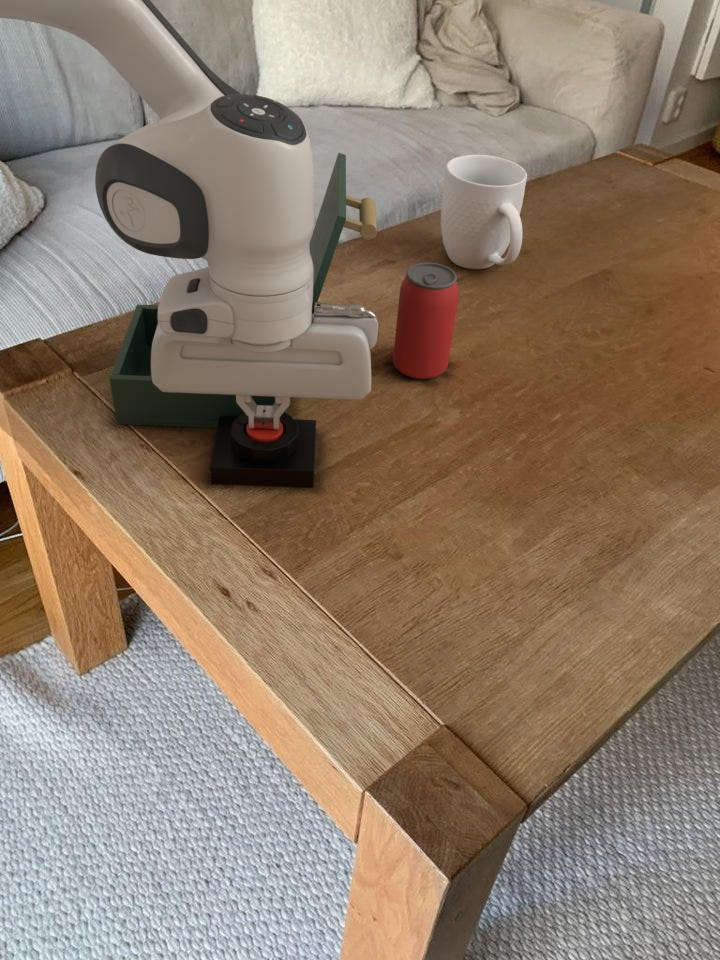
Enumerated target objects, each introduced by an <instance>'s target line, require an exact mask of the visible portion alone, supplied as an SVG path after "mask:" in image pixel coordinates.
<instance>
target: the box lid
mask: <svg viewBox="0 0 720 960" xmlns="http://www.w3.org/2000/svg"><path fill="white" fill-rule="evenodd" d="M326 187H327V188H326V190H325V193H324V197H323V199H322V203H321V206H320V209H319V212H318V216H317V219H316V220H315V225H314V230H313V233H312V235H311V238H310V244H309V248H310V254H311V258H312V262H313V268H314V271H313V272H314V274H313V302H319V298H320V296H321V293H322V290H323V287H324V284H325V281H326V279H327V275H328V273H329V269H330V267H331V264H332V261H333V259H334V255H335V253H336V252H335V251H336V250H337V246H338V245H339V244H338V243H339V241H340V238H341V235H342V232H343V229H344V228H345V229H349V230H352V231H355V232H358V233H359V234H360V236H361V238H362V239H364V240H367V241H370V240H373V239H375V238H376V236H377V235H378V227H377V226H378V225H377V208H376V202H375V200H374V199H373V198H371V197H363V198H361V199H358V198H355V197H352V196H348V195H347V155H346V154H344V153H341V152H338V153H337V156H336V159H335V162H334V165H333V169H332V171H331V175H330V178H329V181H328V185H327V186H326ZM347 206H348V207H351V208H354V209H357V210H359V211H358V214H359V216H358V217H359V221H358V220H355V219H352V218H349V217H347Z"/></svg>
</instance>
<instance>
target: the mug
mask: <svg viewBox="0 0 720 960" xmlns="http://www.w3.org/2000/svg"><path fill="white" fill-rule="evenodd" d="M527 179H528V173H527V171H526V170H525V169H524V168H523V167H522V166H521V165H520V164H518V163H516V162H514V161H511V160H509V159H506V158H502V157H499V156H495V155H488V154H466V155H460V156H457V157H454V158H452V159H450V160H449V161H448V162H447V163H446V166H445V173H444V180H443V186H442V195H441V201H440V202H441V204H440V207H441V208H440V228H441V238H442V243H443V246H444V249H445V252H446V254H447V257H448V258H449V260H450V261H451V262H452V263H453V264H454V265H456V266H458V267H461V268H464V269H468V270H485V269H488V268H490V267H492V266H494V265H498V266H507V265H510V264H512V263H513V262H515V261H516V260H517V258H518V256H519V255H520V252H521V249H522V244H523V224H522V219H521V216H520V214H521V211H522V207H523V203H524V202H523V201H524V197H525V191H526V186H527ZM507 249H508V251H507V253H506V255H505V257H504V258H503V255H504V254H505V252H506V250H507Z"/></svg>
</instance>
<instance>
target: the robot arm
mask: <svg viewBox="0 0 720 960" xmlns="http://www.w3.org/2000/svg"><path fill="white" fill-rule="evenodd" d="M0 19H7V20H8V19H10V20H17V21H23V22H31V23H34V24H40V25H44V26H49V27H52V28H55V29H59V30H62V31H64V32H67V33H69V34H71V35H74V36H75V37H77V38H79V39H82V40H83V41H84V42H85V43H87V44H89V45H90V46H91V47H93V48H94V49H95V50H97V51H98V52H99V53H100V54H101V55H102V57H104V58H105V60H107V61H108V63H109V64H110V65H111V66H112V67H113V68H114V69H115V70H116V72H117V73H118V74H119V75H120V76H121V77H122V78H123V79H124V80H125V81H126V82H127V83H128V84H129V86H130V87H131V88H132V89H133V90H134V92H136V93H137V94H138V96H140V98H141V99H142V100H143V101H144V102H145V103H146V104H147V105H148V107H149V108H150V109H151V110H152V111H153V112H154V113H155V114H156V116H157V117H158V118H159V119H157V120H156V121H154V122H150V123H147V124H146V125H144V126H142V127H139V128H138V129H135V130H134V131H132V132H130V133H128V134H126V135H124V136H122V137H121V138H120V139H118V140H116V141H115V142H114V143H112V144H111V145H110V146H108V147H107V148H105V149H104V151H102V153H101V154H100V156H99V158H98V160H97V164H96V168H95V177H94V184H95V185H94V186H95V193H96V198H97V203H98V205H99V208H100V211H101V213H102V215H103V216H104V217H103V218H104V219H105V221H106V222H107V224H108V226H109V227H110V229H112V231H113V232H114V233H115V234H116V235H117V237H118V238H119V239H121V240H122V241H123V242H124V243H125V244H126V245H128V246H130V247H132V248H133V249H136V250H137V251H140V252H142V253H144V254H148V255H152V256H157V257H164V258H171V259H178V260H179V259H180V260H197V259H203V260H205V261H206V263H207V267H204V268H199V269H196V270H191V271H187V272H183V273H178V274H175V275H173V276H171V277H170V278H169V279H168V281H167V282H166V284H165V286H164V288H163V289H162V292H161V294H160V298H159V301H158V305H159V306H158V325H157V328H156V332H155V335H154V339H153V342H152V349H151V376H152V382H153V384H154V385H155V386H156V387H157V388H159V389H160V390H161V391H162V392H174V393H199V394H224V395H236V402H237V404H238V405H239V406H240V407H241V409H242V410H243V411H244V412H245V414H246V415H247V416H249V428H253V429H277V430H279V421H280V416H281V415H282V414H283V413H284V411H285V410H286V409H287V407H288V408H289V406H290V405H291V398H299V399H300V398H301V399H321V400H322V399H323V400H325V399H326V400H327V399H328V400H350V401H351V400H352V401H353V400H354V401H360V400H361V401H362V400H364V398H365V397H367V396H368V395H369V394H370V393H371V391H372V358H371V349H373V348H374V347H375V346H376V344H377V343H378V340H379V335H380V321H379V318H378V316H377V315H376V314H375V313H374V312H373V311H371V310H369V309H366V308H365V306H364V305H362V304H359V303H358V304H357V303H349V304H340V303H339V304H338V303H333V302H319V301H318V302H313V274H314V272H313V271H314V268H313V262H312V258H311V254H310V248H309V244H310V240H311V237H312V234H313V231H314V228H315V225H316V182H315V181H316V180H315V177H316V176H315V163H314V154H313V148H312V143H311V138H310V136H309V135H310V134H309V133H308V130H307V128H306V125H305V123H304V121H303V119H302V118H301V117H300V116H299V115H298V114H297V113H296V112H294V111H293V110H292V109H290V108H289V107H288V106H286V105H285V104H283V103H281V102H280V101H277V100H274V99H272V98H269V97H266V96H263V95H258V94H254V95H253V94H243V93H241V92H240V91H238V90H236V89H235V88H233V87H232V86H231V85H230V84H228V83H227V82H225V81H224V80H223V79H222V78H220V77H219V76H218V75H217V74H216V73H214V71H213V70H212V69H210V67H209V66H208V65H206V63H205V61H203V59H202V58H200V56H199V55H198V54H197V53H196V52H195V51H194V49H193V48H192V47H191V46H190V45H189V43H188V42H187V41H186V40H185V39H184V38H183V37H182V36H181V34H180V33H179V32H178V31H177V30H176V28H175V27H174V26H173V25H172V24H171V23H170V22H169V20H168V19H167V18H166V17H165V16H164V15H163V13H161V11H160V10H159V9H158V7H157V6H156V5H155V4H154V3H153V2H152V1H151V0H0ZM251 396H273V397H275V403H274V405H273V406H264V405H256V403H255V402H254V400H253V399H252V397H251ZM287 410H288V409H287Z"/></svg>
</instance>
